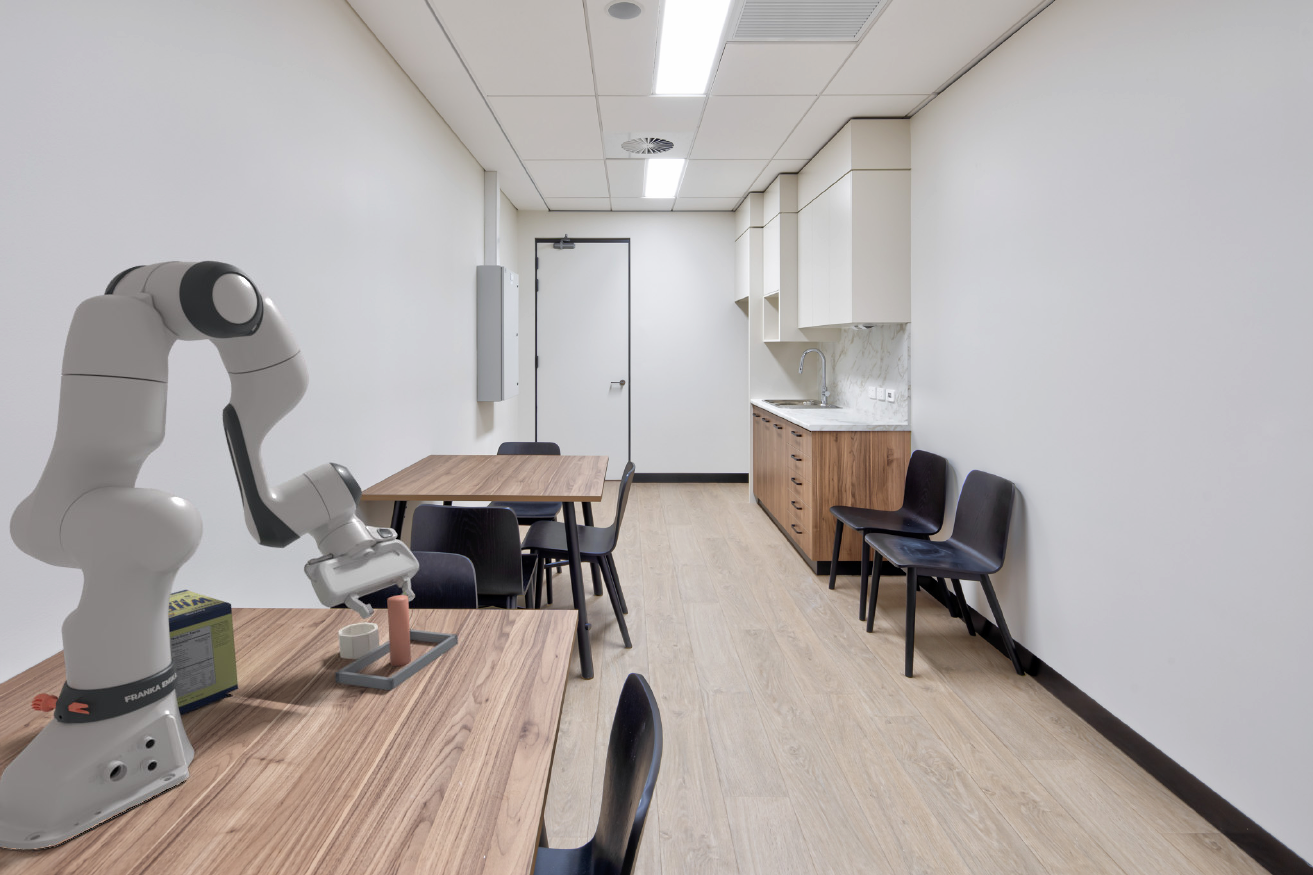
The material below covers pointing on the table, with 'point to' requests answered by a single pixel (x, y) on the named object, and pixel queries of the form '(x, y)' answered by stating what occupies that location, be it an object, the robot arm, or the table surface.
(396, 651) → the sausage
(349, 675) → the tray
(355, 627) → the cup
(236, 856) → the table surface
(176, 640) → the protein box
